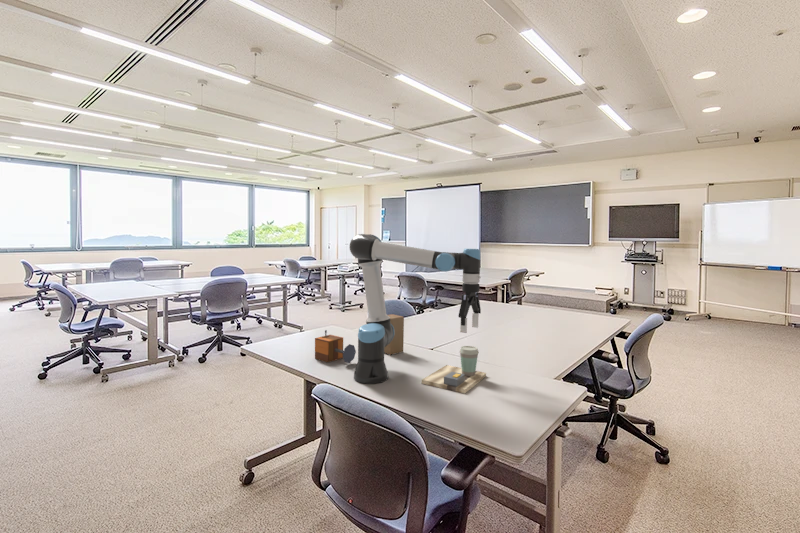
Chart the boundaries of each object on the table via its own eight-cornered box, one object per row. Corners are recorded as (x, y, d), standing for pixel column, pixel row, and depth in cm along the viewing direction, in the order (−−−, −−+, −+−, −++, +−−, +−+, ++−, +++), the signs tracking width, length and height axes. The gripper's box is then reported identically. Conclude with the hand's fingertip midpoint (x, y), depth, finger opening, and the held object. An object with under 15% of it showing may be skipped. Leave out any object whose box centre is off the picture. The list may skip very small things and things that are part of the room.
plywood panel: (421, 383, 167) (421, 379, 167) (446, 368, 189) (446, 364, 189) (464, 393, 157) (464, 389, 157) (486, 376, 178) (486, 372, 178)
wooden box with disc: (341, 366, 189) (341, 337, 188) (314, 358, 201) (314, 331, 200) (356, 361, 197) (357, 333, 196) (330, 354, 209) (330, 328, 208)
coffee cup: (481, 374, 176) (482, 348, 175) (471, 378, 170) (472, 351, 169) (465, 369, 182) (466, 344, 181) (455, 374, 176) (455, 347, 175)
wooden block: (391, 348, 223) (392, 313, 222) (403, 352, 216) (404, 316, 214) (378, 351, 216) (378, 315, 215) (390, 355, 209) (390, 318, 208)
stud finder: (443, 383, 163) (443, 375, 163) (451, 378, 170) (451, 370, 170) (456, 386, 160) (457, 378, 160) (464, 381, 167) (464, 373, 166)
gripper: (468, 285, 161) (466, 336, 163) (488, 281, 182) (487, 326, 184) (451, 284, 165) (450, 333, 167) (473, 280, 186) (472, 324, 188)
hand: (469, 329), depth 175 cm, fingers open, 13 cm apart
